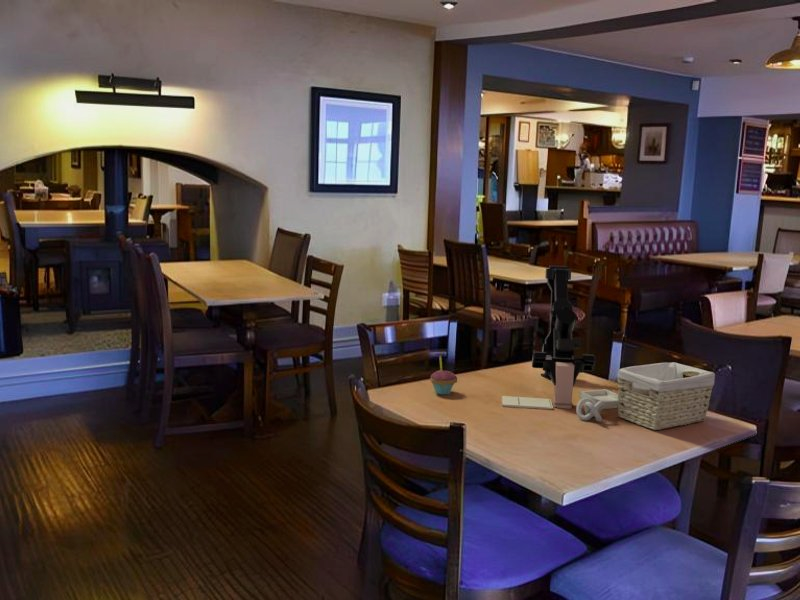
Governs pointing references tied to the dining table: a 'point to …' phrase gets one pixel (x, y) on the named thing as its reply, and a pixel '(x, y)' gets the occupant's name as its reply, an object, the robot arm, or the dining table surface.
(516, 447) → the dining table surface
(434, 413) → the dining table surface
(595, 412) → the knot
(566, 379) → the pinkish tall block
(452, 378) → the cupcake
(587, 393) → the bill dish
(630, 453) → the dining table surface
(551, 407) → the ticket book
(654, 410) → the storage basket
